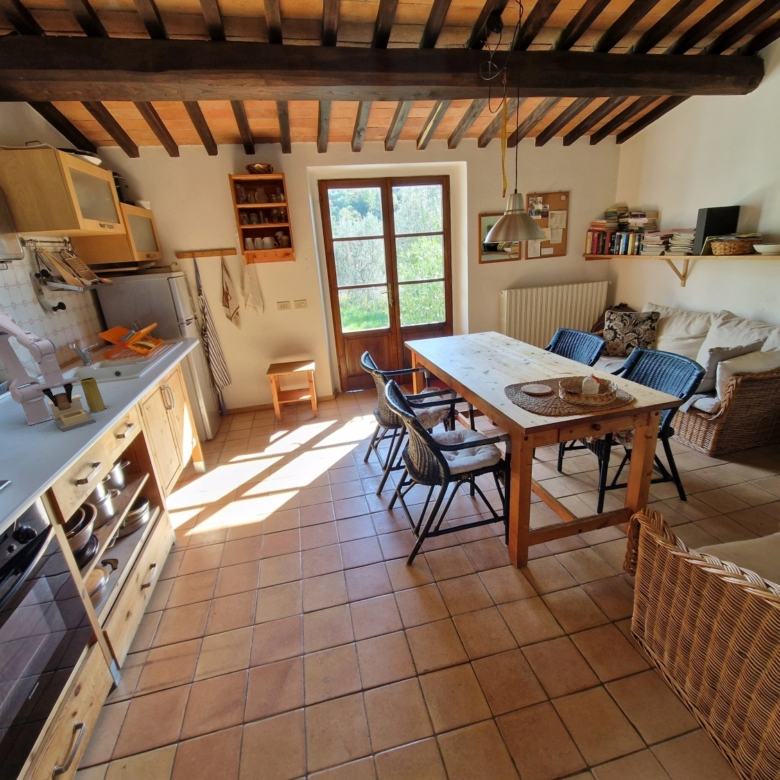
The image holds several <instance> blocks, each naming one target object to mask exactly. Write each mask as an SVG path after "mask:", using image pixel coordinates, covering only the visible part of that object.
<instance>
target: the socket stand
mask: <svg viewBox="0 0 780 780" xmlns="http://www.w3.org/2000/svg"><path fill="white" fill-rule="evenodd" d="M81 399H83V396H82V395H81V394H79V393H78V394H75V395H72V403H70V405H71V408H69V409H67V410H62V411H60V410H59V409H58V407H55V405H54V403H53V402H52V401H51V400H50V401H48V402H46V403H47V404H46V405H47V406H48V407H50V409H51V410H50V411H51V413H52V415H53V422H54V424H55V425H56V426H57V427H58V428H59V429H60V431H61V432H62V433H64V432H67V431H71V430H74V429H78V428H81V427H83V426H87V425H90V424H93V423H94V424H95V423H96V422H97V421H96V419H95V417H93V416H92V415H91V414H90V412H87V411H86V409H84V407H83V405H82V402H81Z"/></svg>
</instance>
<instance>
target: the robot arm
mask: <svg viewBox="0 0 780 780" xmlns="http://www.w3.org/2000/svg"><path fill="white" fill-rule="evenodd" d="M11 337H14V338H16V341H17V343H18V344H20V345H21V346H23V347H24V348H26V349H27V350H28V352H29V354H30V356H32V357H33V360H34V361H35V363H37V364H38V367H39V369H40V372H41V374H42V378H43V380H44V383H42V382H41V381H40V379H39V378H37V377H33V376H30V375H29V374H28V372H27V370H26V368H25V367H24V366H23V363H22V362H21V360H20V358H19V356H18V355H17V353H16V352H15V350H14V348H13V347H12V344H11V343H10V341H9V338H11ZM56 353H57V347H56V345H55V343H54V342H53V341H52V339H50V338H41V337H40V336H38V335H37V334H35V333H34V332H32V331H30V330H24V329H23V328H21V327H20V326H18V324H17V323H16V320H15V319H14V317H13V316H12V315H10V314H8V313H5V314H0V359H1V361H2V362H3V365H4V367H5V369H6V370H7V371H8V373H9V374H10V377H11V378H12V380H13V381H12V382H11V383H10V385H9V387H8V391H9V392H10V396H11V398H12V400H13V401H14V402H15V403H17V404H20V405H21V407H22V409H23V412H24V414H25V416H26V419H25V421H26V423H27V424H28V426H32V425H36V424H40V423H43V422H44V423H45V422H47V421H51V420H54V416H52V415H51V414H50V411H49V410H48V407H47V404H46V402H45V398H46V397H48V399H49V400H50V402H51V401H52V402H53V403H54V405H55V407H58V405H57V403H56V401H55V399H54V394H53V391H52V389H55V388H60V387H63V389H64V391H65V392H64V393H66V394H67V397H68V400H69V402H70V403H72V396H73V388H74V385H73V384H77V383H78V384H79V383H80V379H79V377H78V376H76V377H69V378H65V377H64V376H63V373H62V371H61V368H60V365H59V363H58V360H57V357H56Z"/></svg>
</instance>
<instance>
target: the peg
mask: <svg viewBox="0 0 780 780" xmlns="http://www.w3.org/2000/svg"><path fill="white" fill-rule="evenodd" d="M53 396H54V399H55V401H56V403H57V405H58V409H59V410H60V411H62V410H67V409H69V408H71V405H70V402H69V400H68V397H67V394H66V392H60V393H56V394H53Z"/></svg>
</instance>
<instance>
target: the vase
mask: <svg viewBox="0 0 780 780" xmlns="http://www.w3.org/2000/svg"><path fill="white" fill-rule="evenodd" d="M79 383H80V385H81V388H82V391H83V393H84V398H85V400H86V405H87V407H88V411H89V413H99V412H102V411H104V410H106V409H105V408H107V406H106V405H105V403H104V399H103V397H102V394H101V392H100V389H99V386H98V383H97V380H96V378H95V377H94V376H90V377H85V378H82V379H79ZM101 410H102V411H101ZM98 411H99V412H98Z"/></svg>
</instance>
